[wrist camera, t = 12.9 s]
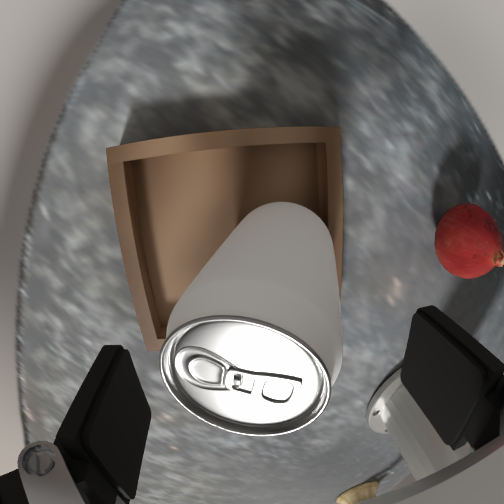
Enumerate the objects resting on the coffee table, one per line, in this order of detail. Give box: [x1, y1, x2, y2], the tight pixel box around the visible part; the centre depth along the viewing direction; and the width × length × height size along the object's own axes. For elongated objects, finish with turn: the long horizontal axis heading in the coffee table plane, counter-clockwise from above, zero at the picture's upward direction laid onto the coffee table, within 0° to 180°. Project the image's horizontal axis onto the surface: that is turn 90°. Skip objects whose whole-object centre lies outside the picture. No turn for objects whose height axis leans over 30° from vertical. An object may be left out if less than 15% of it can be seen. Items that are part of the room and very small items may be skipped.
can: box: [159, 202, 343, 436], centre depth 14 cm, size 6×6×12 cm
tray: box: [106, 126, 343, 351], centre depth 19 cm, size 14×14×2 cm
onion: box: [435, 204, 504, 279], centre depth 19 cm, size 6×6×8 cm
